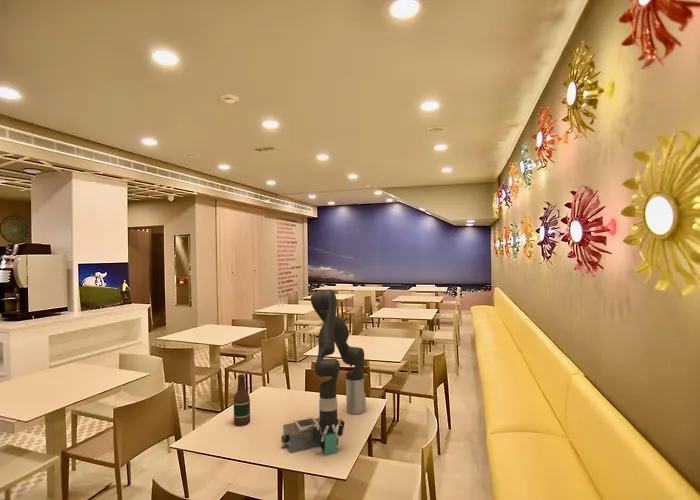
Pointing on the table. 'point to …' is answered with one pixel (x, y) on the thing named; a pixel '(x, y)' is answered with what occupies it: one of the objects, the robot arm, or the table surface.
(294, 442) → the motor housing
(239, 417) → the beer bottle
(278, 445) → the table surface
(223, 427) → the table surface
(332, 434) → the block
